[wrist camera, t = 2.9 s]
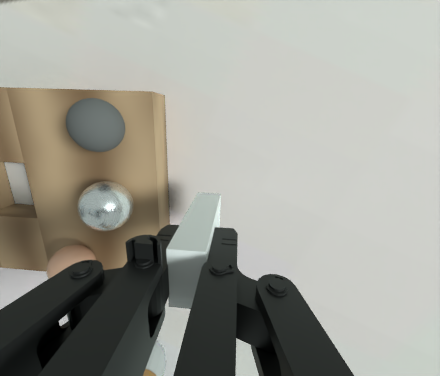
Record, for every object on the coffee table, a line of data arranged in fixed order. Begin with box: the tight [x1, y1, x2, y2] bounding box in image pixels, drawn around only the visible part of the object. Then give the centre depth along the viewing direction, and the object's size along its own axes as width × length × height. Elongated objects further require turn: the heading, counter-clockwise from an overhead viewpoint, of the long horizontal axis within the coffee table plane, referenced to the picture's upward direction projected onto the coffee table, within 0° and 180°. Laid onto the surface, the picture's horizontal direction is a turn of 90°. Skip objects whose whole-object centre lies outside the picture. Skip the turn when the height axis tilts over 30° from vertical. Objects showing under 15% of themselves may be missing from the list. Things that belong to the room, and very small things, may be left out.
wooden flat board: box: [0, 87, 170, 271], centre depth 18 cm, size 17×15×2 cm
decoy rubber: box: [66, 98, 125, 152], centre depth 14 cm, size 3×3×3 cm
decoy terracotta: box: [47, 245, 96, 279], centre depth 17 cm, size 3×3×3 cm
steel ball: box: [77, 181, 133, 231], centre depth 15 cm, size 3×3×3 cm
